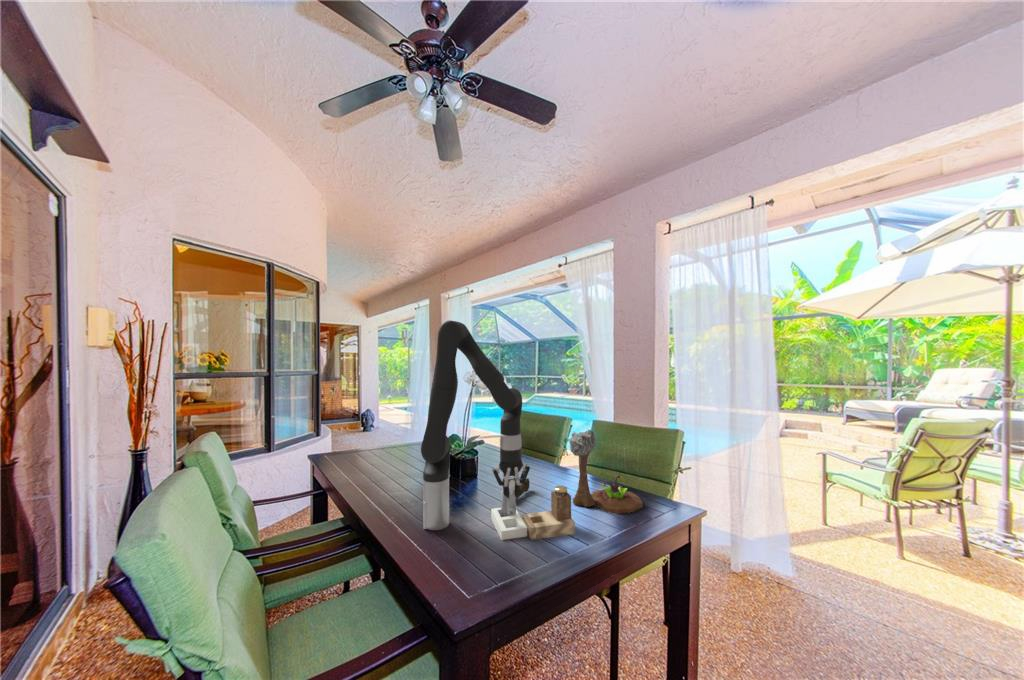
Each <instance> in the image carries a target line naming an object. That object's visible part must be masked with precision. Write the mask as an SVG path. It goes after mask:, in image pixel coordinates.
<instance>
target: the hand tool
mask: <svg viewBox="0 0 1024 680" xmlns="http://www.w3.org/2000/svg"><path fill="white" fill-rule="evenodd" d="M529 489H530V479H529V478H527V477H526V480H525V482H524V483H521V484H520V493H519V494H518V496H516V501H517V500H518V499H519V498H520V496H522V495H523V494H524V493H525V492H526V493H527V492H528V491H529Z"/></svg>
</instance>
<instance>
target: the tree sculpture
mask: <svg viewBox="0 0 1024 680" xmlns="http://www.w3.org/2000/svg"><path fill="white" fill-rule="evenodd" d="M568 440H569V449H570V453H572V454H573V455H574V456H575V457H578V471H579V479H578V482H577V483H578V486H577V489H576V492H575V495H574V497H573V499H572V503H573V504H574V505H576V506H582V507H584V508H590V507H592V506H595V503H596V502H595V500H594V499H593V498H592V496H591V494H592V493H591V492H590V487H589V480H588V472H587V466H588V458H589V456H590V454H591V452H592V451H593V450H595V447H597V443H596V442H597V439H596V436H595V433H594V431H593V430H591V429H587V430H586V431H584V432H578V433H577V432H573V433H572V434H571V437H570V438H569V439H568Z"/></svg>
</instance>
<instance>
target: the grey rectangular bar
mask: <svg viewBox="0 0 1024 680" xmlns="http://www.w3.org/2000/svg"><path fill="white" fill-rule="evenodd" d="M507 486H508V497H507V513H508V515H515V514H516V510H517V500H516V479H515V478H514V476H510V477H509V480H508V485H507Z"/></svg>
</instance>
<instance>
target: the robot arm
mask: <svg viewBox="0 0 1024 680" xmlns="http://www.w3.org/2000/svg"><path fill="white" fill-rule="evenodd" d="M436 343H437V344H436V345H437V346H436V357H435V358H436V359H435V363H434V364H435V365H434V371H433V379H432V383H431V389H430V396H429V404H428V411H427V413H428V414H427V422H426V427H425V431H424V435H423V438H422V442H421V446H420V453H421V456H422V458H423V460H425V461H424V462H425V464H424V468H423V472H422V480H423V481H422V482H423V483H422V485H423V486H422V487H423V489H422V490H423V493H422V494H423V496H422V497H423V498H422V506H423V508H422V509H423V511H422V513H423V517H422V518H423V520H422V521H423V523H422V524H423V530H424V529H426V530H427V529H429V530H428V531H439V530H440V531H441V530H443V529H445V528H448V526H449V525H450V478H449V477H450V468H451V442H450V439H449V437H448V435H447V428H448V425H449V421H450V418H451V416H452V414H453V413H452V412H453V409H454V406H455V402H456V398H457V392H458V385H459V381H458V373H457V366H456V359H457V352H458V350H459V351H460V352H461V353H462V354H463V355H464V356H465V357H466V358H467V360H468V362H469V363H470V366H471V367H472V369H473V371H474V373H475V375H476V376H477V377H478V378H479V380H480V381H481V382H482V383H483V385H484V386H485V387H486V388H487V389H488V390H489V393H490V395H491V397H492V398H493V400H494V402H495V403H496V404H497V406H498V407H499V408H500V409H501V410H503V414H502V417H501V419H500V424H499V425H500V429H499V430H500V437H499V459H500V460H499V464H498V466H496V467H492V468H491V471H492V474H493V475H494V477H495V480H496V482H497V483H498V485H499V486H501V487H502V489H503V494H504V496H506V497H508V486H507V485H508V480H509V477H514V478H515V479H516V496H518V494H519V493H520V485H521V484H522V483H524V482H525V480H526V479H527V477H528V474H529V473H530V470H531V467H530V466H529V464H524V463H523V459H522V457H523V456H522V445H523V443H522V435H521V417H522V410H523V409H522V408H523V396H522V394H521V392H520V390H519V389H517V388H514V387H511V388H510V387H508V385H507V383H506V382H505V377H504V375H503V374H502V373H501V372H500V371H499V369H498V368H497V367H496V365H494V364H493V362H492V361H491V360H490V359H489V358H488V356H486V354H485V353H484V351H483V350H482V349H481V347H480V346H479V344H478V342H476V340H475V338H474V337H473V334H471V332H470V330H469V328H468V327H467V326H466V325H465V324H464V323H462V322H460V321H455V320H449V319H448V320H446V321H443V322H442V323H441V325H440V327H439V328H438V333H437V342H436ZM521 470H522V472H521V474H520V475H519V473H520V471H521ZM500 471H501V472H502V473H503V474H502V477H503V478H502V479H501V478H500V475H499V474H500Z"/></svg>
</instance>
